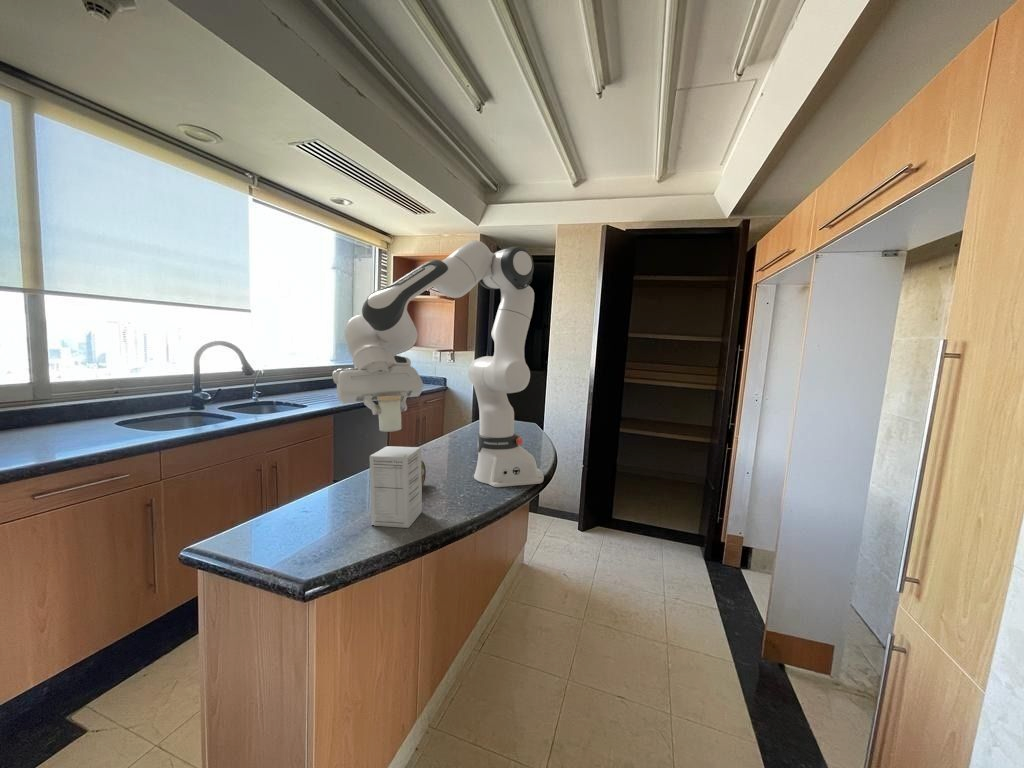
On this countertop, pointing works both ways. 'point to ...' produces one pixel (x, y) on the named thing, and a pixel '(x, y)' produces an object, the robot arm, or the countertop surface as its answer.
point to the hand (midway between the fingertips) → (390, 411)
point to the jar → (389, 412)
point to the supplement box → (395, 486)
